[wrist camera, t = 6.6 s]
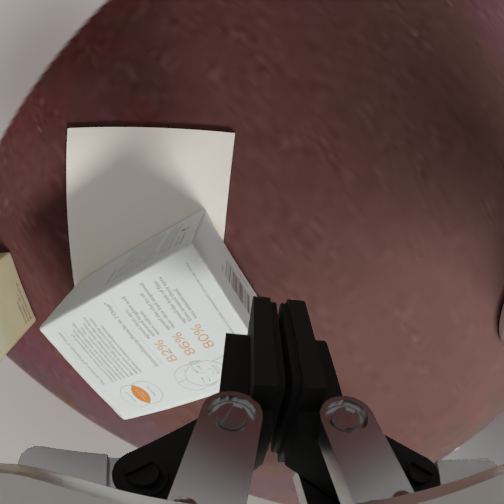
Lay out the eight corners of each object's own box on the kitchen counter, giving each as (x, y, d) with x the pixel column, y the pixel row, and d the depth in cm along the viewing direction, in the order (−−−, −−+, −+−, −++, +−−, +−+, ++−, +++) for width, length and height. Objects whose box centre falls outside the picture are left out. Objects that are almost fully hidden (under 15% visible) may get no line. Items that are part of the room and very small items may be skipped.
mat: (235, 132, 16) (235, 133, 16) (216, 322, 21) (216, 326, 20) (70, 127, 16) (67, 128, 15) (79, 302, 20) (77, 305, 20)
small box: (207, 205, 17) (75, 280, 19) (192, 241, 12) (34, 327, 14) (270, 315, 20) (141, 365, 22) (278, 375, 15) (122, 421, 17)
